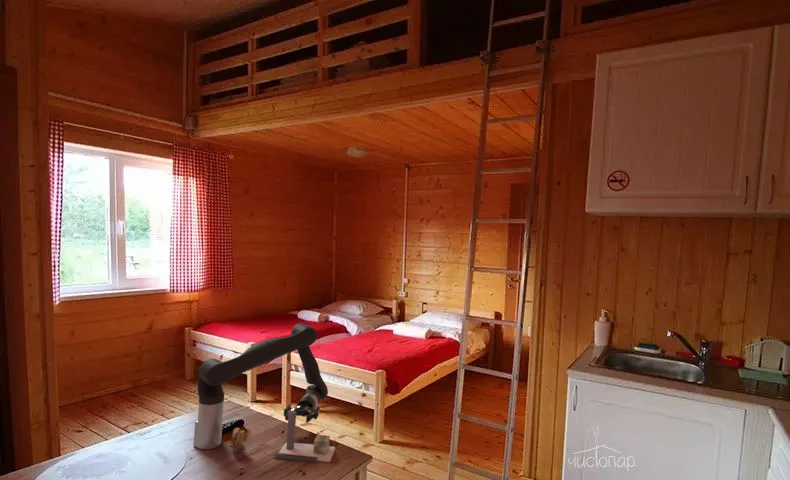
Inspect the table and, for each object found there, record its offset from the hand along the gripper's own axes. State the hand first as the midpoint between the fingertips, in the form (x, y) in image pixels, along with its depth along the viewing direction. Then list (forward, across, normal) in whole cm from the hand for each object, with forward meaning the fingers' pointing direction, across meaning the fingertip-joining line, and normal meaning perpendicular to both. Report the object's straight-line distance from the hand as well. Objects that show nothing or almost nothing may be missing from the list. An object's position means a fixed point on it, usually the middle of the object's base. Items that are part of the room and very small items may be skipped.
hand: (296, 419), depth 171 cm
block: (+7, +13, +8) cm, 17 cm away
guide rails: (+7, +4, +10) cm, 13 cm away
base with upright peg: (+7, +7, +10) cm, 14 cm away
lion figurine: (+8, -20, +10) cm, 24 cm away
